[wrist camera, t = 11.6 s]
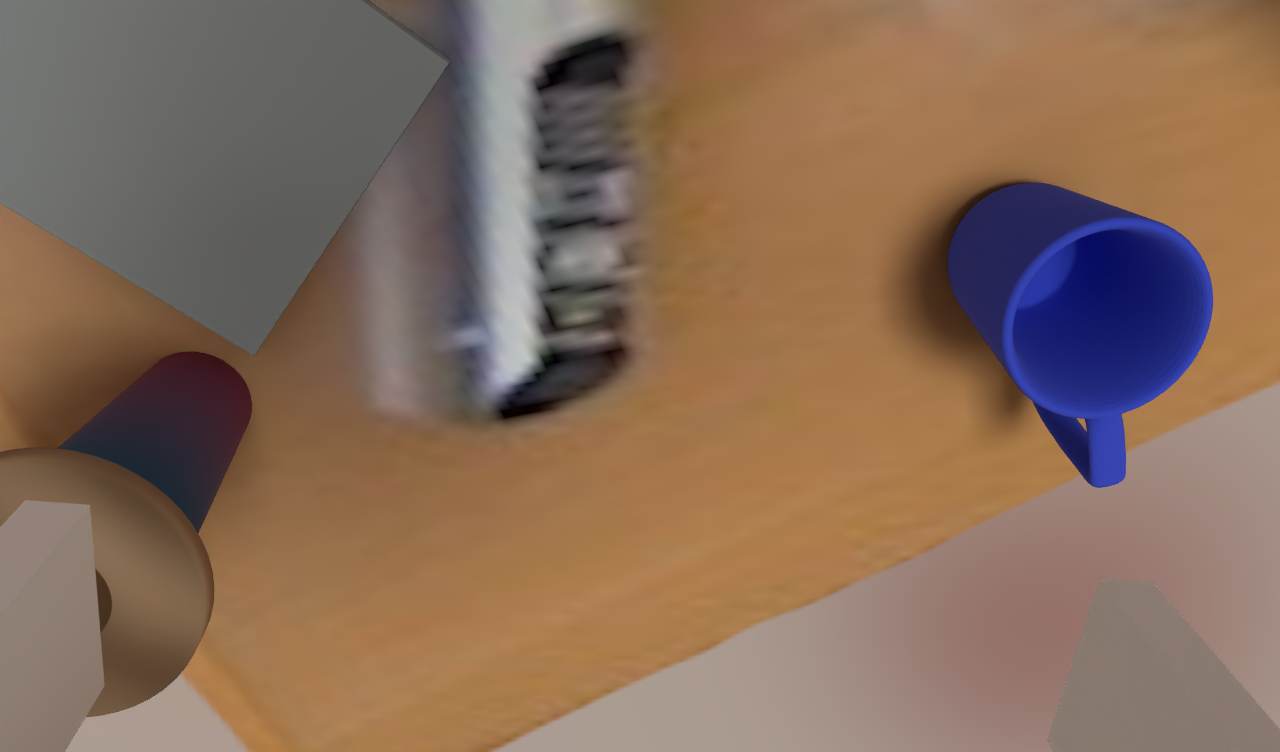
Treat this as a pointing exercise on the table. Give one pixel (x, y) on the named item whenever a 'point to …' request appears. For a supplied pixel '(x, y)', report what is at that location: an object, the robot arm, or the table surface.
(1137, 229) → the mug
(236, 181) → the mat
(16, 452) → the lid
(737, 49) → the table surface
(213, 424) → the cup
